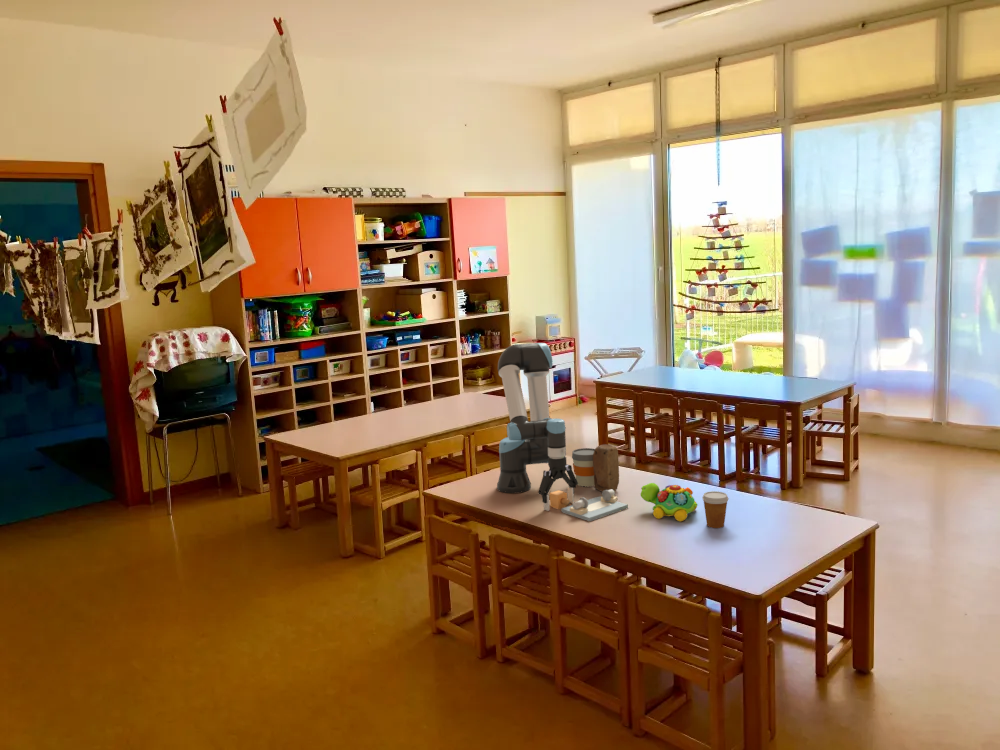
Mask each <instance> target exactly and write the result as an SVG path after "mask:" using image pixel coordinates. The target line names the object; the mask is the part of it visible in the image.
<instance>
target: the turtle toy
mask: <svg viewBox="0 0 1000 750" xmlns="http://www.w3.org/2000/svg"><path fill="white" fill-rule="evenodd" d="M693 493H694V491H693V490H692V489H691V488H690V487H687V486H686V488H684V487H681V485H678V484H671V485H670V484H668V485H666V486H665V488H663V489H662V490H660V487H659V485H658V484H656V483H655V482H649V483H647V484H644V485H642V486H641V492H640V497H641V498H642V500H644V501H645V502H647V503H651V504H653V505H654V506H653V507H652V511H653V512H652V514H653V516H654V518H656V520H658V519H662V518H663V517H665V516H667V517H670V516H672V517H674V519H675V520H676V521H677V522H683V521H685V520H686V519H687V517H688V514H691V513H693V512H695V511H696V510H697V508H698V506H699V505H698V504H699V503H697V502H696V500H695V498H694V496H693Z"/></svg>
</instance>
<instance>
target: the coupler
mask: <svg viewBox="0 0 1000 750" xmlns="http://www.w3.org/2000/svg"><path fill="white" fill-rule="evenodd" d="M548 495H549V507H550V508H553V509H557V510H562V508H565V507H568V506H569V505H570V502H569V500H568V492H566V491H562V490H559V489H558V490H555V491H551V492H549V494H548Z"/></svg>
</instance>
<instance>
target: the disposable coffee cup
mask: <svg viewBox="0 0 1000 750" xmlns="http://www.w3.org/2000/svg"><path fill="white" fill-rule="evenodd" d="M702 495H703V496H702V500H703V505H704V512H705V513H704V514H705V520H706V526H707V527H708V528H712V529H720V528H723V527H725V523H726V512H727V505H728V501H729V499H730V498H729V496H728V494H727V493H725V492H722V491H715V490H714V491H713V490H712V491H706V492H705V493H703V494H702Z"/></svg>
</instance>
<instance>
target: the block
mask: <svg viewBox="0 0 1000 750" xmlns="http://www.w3.org/2000/svg"><path fill="white" fill-rule="evenodd" d="M594 449H595V450H594V453H593V469H594V486H593V487H594V488H595V489H596V490H598V491H600V492H601V493H602V492H603V491H604V490H610V489H613V490H614V492H616V491H617V490H618V487H619V484H620V466H619V465H620V464H619V462H620V461H619V451H618V448H617V446H614V445H611V444H606V443H603V444H600V445H599V446H598V445H597V446H596V447H595V448H594Z"/></svg>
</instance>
